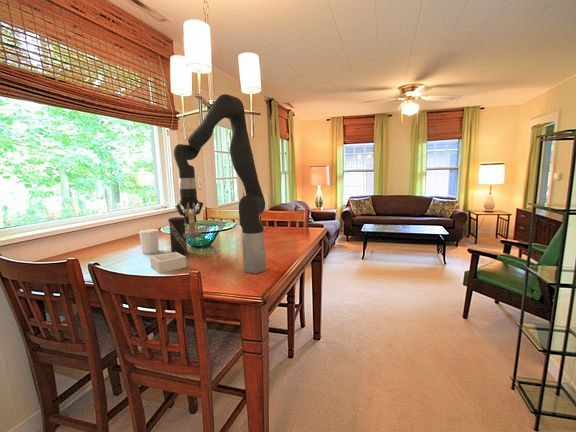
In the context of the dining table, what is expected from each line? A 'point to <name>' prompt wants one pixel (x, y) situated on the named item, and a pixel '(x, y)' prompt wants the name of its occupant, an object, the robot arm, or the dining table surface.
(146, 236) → the candle holder
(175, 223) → the container
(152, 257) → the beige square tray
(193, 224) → the tan column with base
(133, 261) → the dining table surface
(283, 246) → the dining table surface
